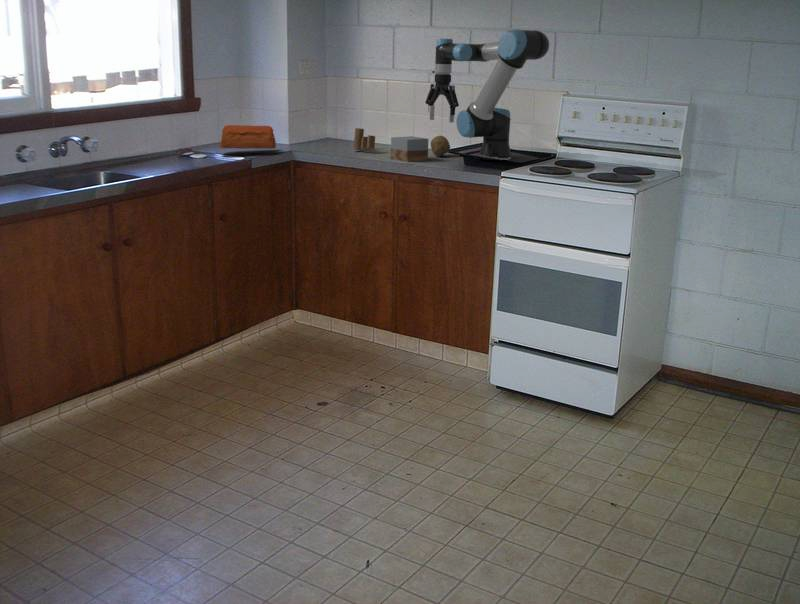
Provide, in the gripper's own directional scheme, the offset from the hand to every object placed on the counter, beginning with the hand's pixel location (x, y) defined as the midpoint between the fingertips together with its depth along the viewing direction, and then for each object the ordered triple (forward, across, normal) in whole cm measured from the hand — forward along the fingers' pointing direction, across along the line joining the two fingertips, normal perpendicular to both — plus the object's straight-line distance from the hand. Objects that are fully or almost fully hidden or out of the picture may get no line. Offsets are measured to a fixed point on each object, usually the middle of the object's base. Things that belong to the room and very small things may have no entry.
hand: (441, 121), depth 406 cm
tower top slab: (+12, 0, +19) cm, 22 cm away
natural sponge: (+17, 0, 0) cm, 17 cm away
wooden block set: (+17, +39, +15) cm, 45 cm away
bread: (+18, +76, +58) cm, 97 cm away
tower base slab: (+17, -1, +19) cm, 26 cm away
